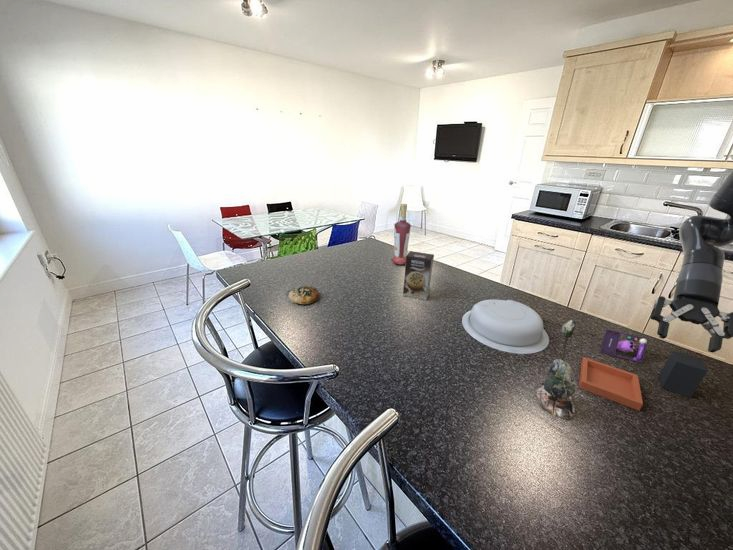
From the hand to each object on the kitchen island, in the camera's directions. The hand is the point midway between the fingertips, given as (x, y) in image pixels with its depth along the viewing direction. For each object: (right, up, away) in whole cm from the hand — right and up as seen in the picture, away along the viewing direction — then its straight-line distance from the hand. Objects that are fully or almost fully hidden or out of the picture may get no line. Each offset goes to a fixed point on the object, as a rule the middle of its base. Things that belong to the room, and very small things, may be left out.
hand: (686, 344), depth 70 cm
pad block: (-3, -10, 0) cm, 11 cm away
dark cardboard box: (-58, +9, +41) cm, 72 cm away
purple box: (-7, -5, +12) cm, 14 cm away
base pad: (-19, -10, 0) cm, 21 cm away
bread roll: (-100, +8, +36) cm, 106 cm away
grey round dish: (-34, 0, +22) cm, 40 cm away
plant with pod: (-36, -12, -5) cm, 38 cm away
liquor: (-61, +22, +70) cm, 95 cm away
